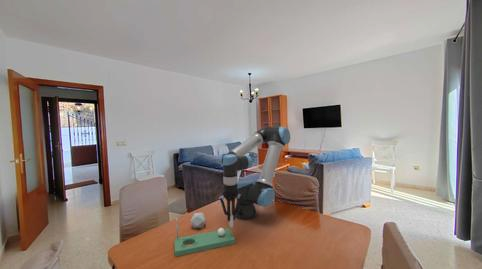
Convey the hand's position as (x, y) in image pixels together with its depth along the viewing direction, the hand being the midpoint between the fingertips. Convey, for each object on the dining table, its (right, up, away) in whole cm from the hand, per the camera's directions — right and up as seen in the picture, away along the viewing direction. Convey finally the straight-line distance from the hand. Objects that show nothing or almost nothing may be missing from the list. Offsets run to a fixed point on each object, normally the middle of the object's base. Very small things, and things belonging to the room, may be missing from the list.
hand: (231, 226), depth 114 cm
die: (-21, -7, +14) cm, 26 cm away
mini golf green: (-14, -7, -4) cm, 16 cm away
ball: (-5, -3, -1) cm, 6 cm away
